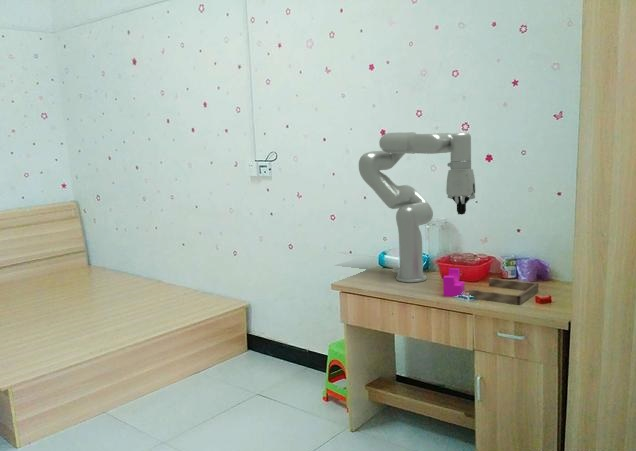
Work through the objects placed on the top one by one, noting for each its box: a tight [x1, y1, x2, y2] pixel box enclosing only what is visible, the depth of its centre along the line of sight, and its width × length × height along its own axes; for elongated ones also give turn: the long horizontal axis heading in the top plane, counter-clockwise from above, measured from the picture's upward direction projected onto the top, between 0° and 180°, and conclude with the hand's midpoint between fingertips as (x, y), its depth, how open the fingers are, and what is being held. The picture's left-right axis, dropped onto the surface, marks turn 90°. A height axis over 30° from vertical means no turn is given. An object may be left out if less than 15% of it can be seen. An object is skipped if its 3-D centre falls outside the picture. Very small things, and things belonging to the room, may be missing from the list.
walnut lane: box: [468, 277, 539, 306], centre depth 205 cm, size 18×20×3 cm
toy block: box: [442, 267, 466, 298], centre depth 212 cm, size 15×6×8 cm, turn 158°
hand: (461, 213), depth 214 cm, fingers closed
